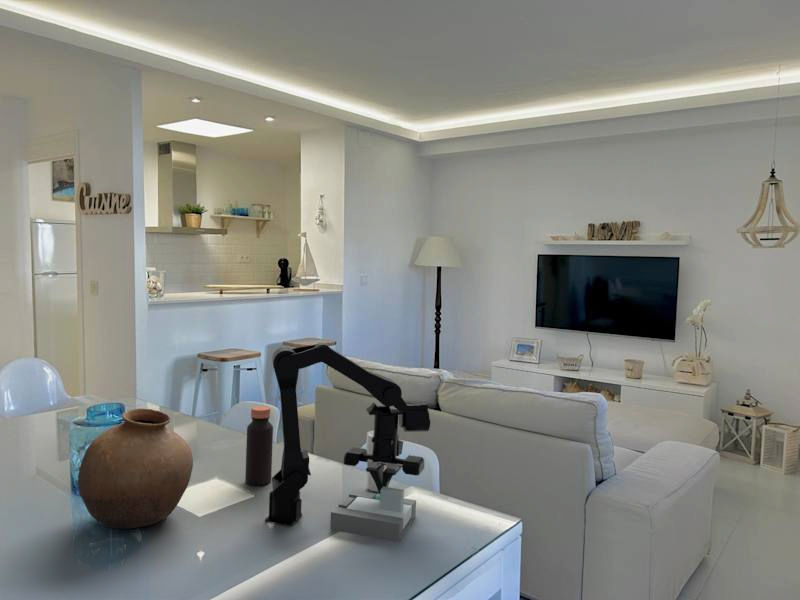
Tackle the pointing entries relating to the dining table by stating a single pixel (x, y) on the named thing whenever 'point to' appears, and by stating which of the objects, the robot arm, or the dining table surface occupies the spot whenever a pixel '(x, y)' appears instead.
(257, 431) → the bottle
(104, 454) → the pottery
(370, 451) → the drinking glass
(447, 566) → the dining table surface
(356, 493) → the filter housing
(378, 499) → the teal egg-shaped capsule
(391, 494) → the white stepped block
